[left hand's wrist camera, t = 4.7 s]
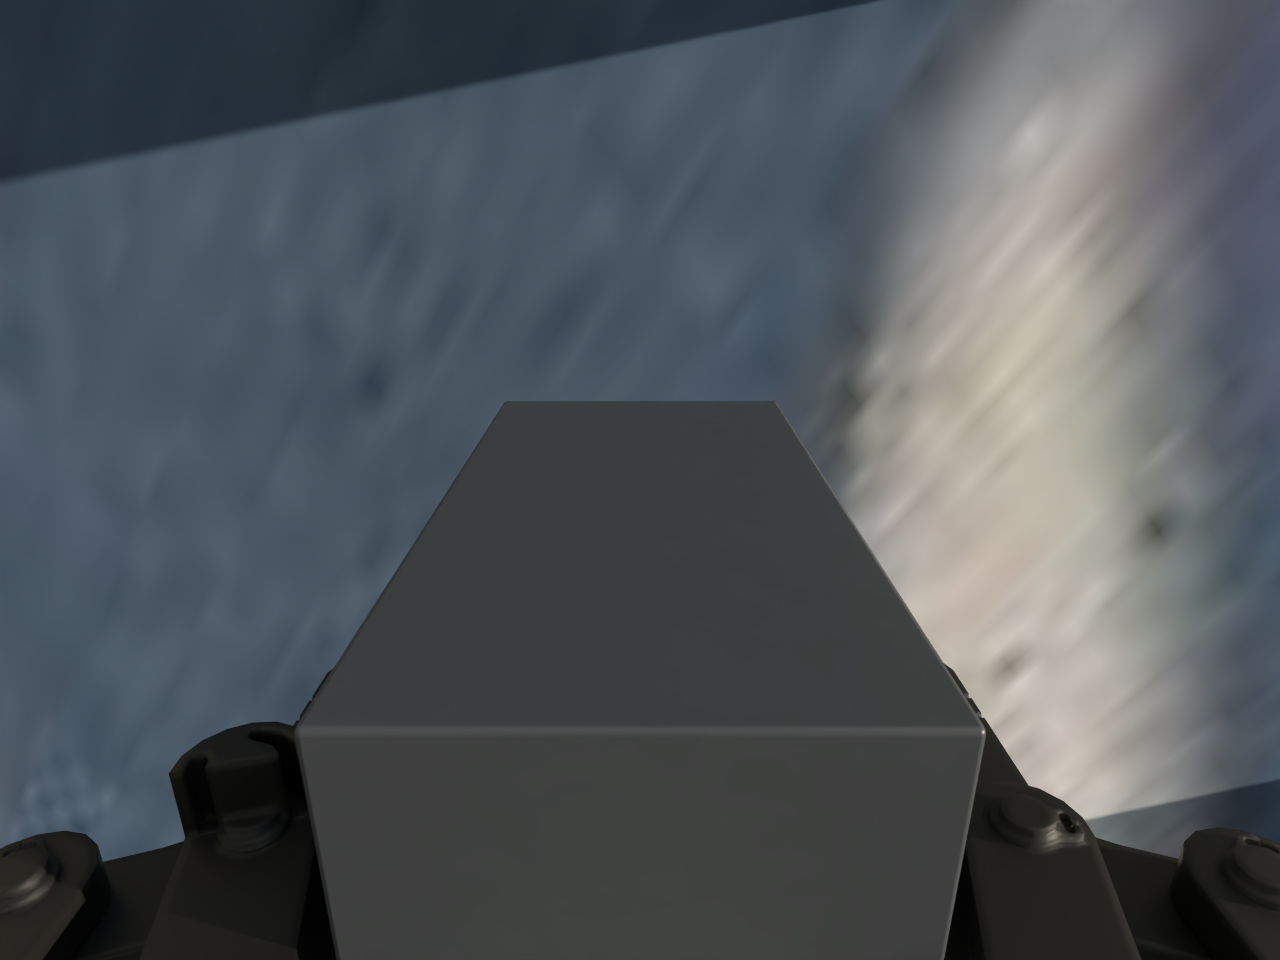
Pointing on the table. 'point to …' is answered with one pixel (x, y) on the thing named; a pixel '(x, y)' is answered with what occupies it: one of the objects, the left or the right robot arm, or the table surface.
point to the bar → (640, 712)
